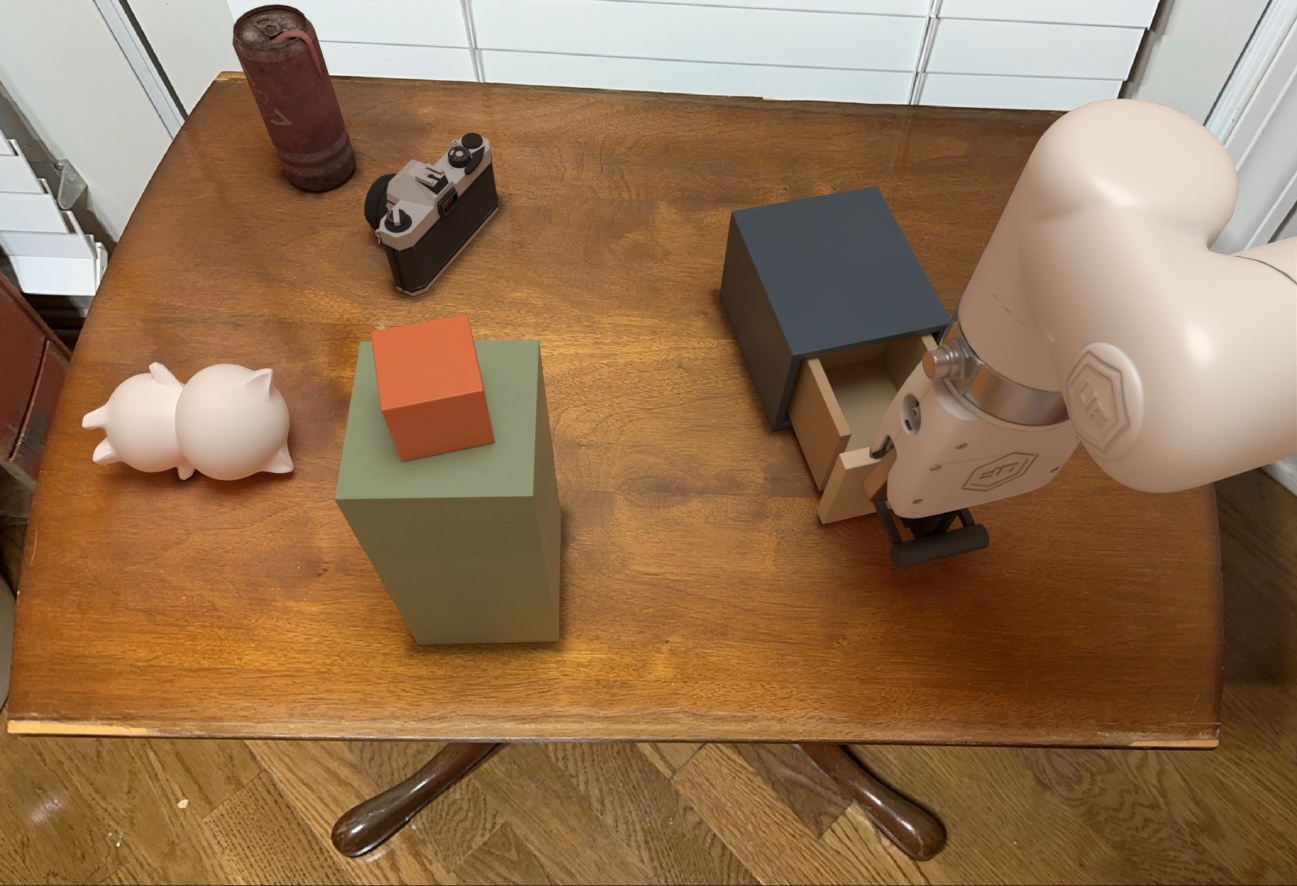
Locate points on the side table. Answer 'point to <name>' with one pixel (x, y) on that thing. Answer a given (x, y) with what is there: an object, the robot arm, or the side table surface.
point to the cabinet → (820, 286)
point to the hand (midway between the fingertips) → (919, 520)
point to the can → (294, 95)
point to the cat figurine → (196, 423)
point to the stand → (462, 510)
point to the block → (431, 387)
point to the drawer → (864, 439)
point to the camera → (432, 211)
